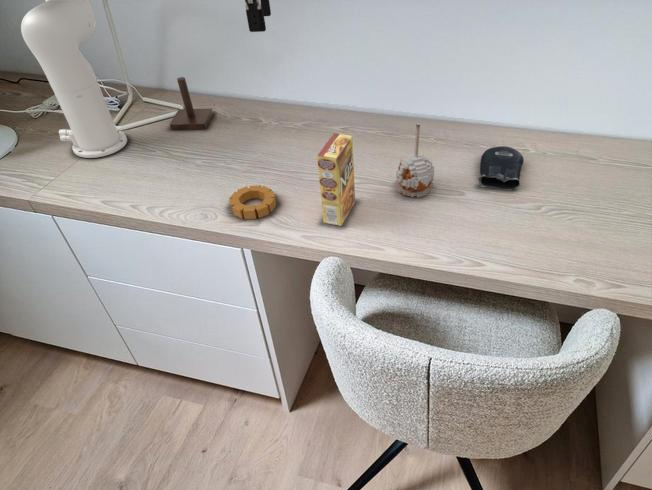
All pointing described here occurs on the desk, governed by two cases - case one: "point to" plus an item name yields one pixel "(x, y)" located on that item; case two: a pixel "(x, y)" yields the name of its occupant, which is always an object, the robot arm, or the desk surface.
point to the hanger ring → (252, 210)
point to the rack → (189, 112)
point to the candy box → (336, 178)
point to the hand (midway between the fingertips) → (260, 23)
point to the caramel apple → (415, 172)
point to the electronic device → (500, 168)
